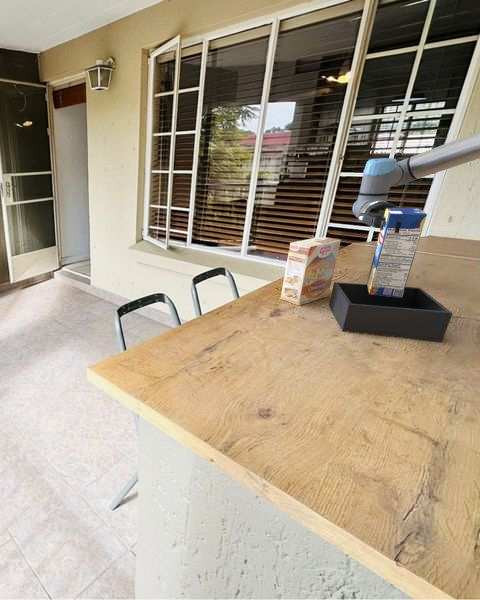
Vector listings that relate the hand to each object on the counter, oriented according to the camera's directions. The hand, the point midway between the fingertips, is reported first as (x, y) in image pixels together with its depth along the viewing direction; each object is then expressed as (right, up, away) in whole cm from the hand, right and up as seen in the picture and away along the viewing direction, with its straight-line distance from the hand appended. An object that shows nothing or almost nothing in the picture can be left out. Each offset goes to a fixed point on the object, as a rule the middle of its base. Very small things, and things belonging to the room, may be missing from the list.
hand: (407, 227), depth 88 cm
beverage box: (+4, -16, +11) cm, 20 cm away
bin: (+2, -24, +11) cm, 27 cm away
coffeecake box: (-7, -18, +30) cm, 35 cm away
